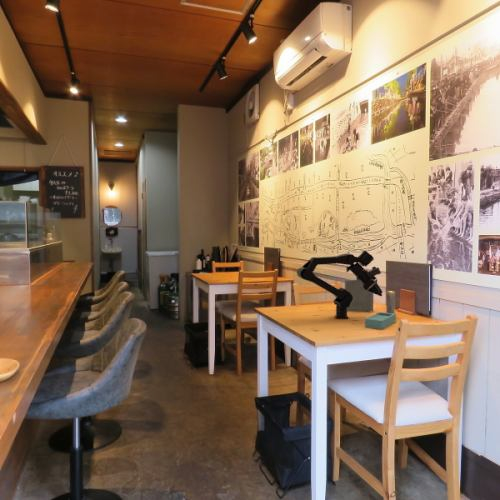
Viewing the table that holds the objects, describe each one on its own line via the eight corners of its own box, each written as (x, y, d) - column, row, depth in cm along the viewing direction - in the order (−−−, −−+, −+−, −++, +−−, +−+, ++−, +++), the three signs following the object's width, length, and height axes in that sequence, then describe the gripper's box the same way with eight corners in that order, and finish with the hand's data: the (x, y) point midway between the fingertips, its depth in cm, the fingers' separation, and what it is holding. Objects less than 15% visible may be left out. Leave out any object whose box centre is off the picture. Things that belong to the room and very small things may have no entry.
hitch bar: (380, 319, 210) (380, 311, 210) (395, 321, 206) (395, 313, 205) (365, 327, 194) (365, 318, 194) (382, 329, 190) (382, 321, 189)
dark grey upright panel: (344, 310, 234) (344, 275, 233) (344, 309, 238) (344, 275, 237) (373, 311, 230) (373, 276, 229) (372, 310, 234) (373, 275, 233)
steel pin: (385, 316, 217) (386, 290, 216) (393, 317, 217) (393, 290, 216) (387, 318, 213) (387, 291, 212) (395, 318, 213) (395, 292, 212)
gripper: (370, 263, 204) (393, 286, 201) (372, 260, 222) (393, 281, 219) (354, 278, 207) (376, 301, 204) (357, 274, 225) (378, 295, 222)
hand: (381, 294), depth 212 cm, fingers open, 9 cm apart
